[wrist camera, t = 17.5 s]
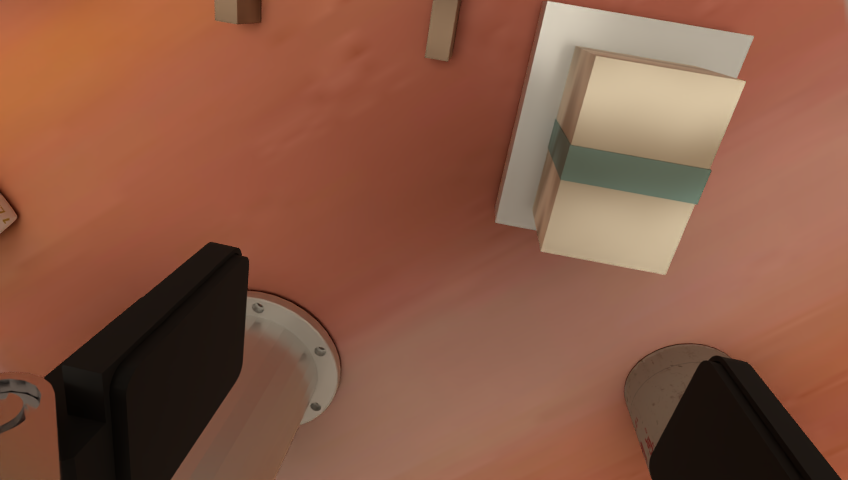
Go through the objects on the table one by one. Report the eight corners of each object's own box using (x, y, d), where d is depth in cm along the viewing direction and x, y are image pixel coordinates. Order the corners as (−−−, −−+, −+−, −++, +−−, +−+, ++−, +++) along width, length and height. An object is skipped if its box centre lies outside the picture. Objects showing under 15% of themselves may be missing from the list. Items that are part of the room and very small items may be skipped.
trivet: (651, 236, 32) (664, 254, 29) (494, 207, 32) (495, 222, 30) (731, 33, 26) (754, 36, 24) (542, 1, 27) (547, 1, 25)
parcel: (636, 228, 29) (667, 276, 24) (531, 209, 29) (539, 252, 24) (696, 66, 25) (748, 81, 20) (574, 45, 25) (595, 56, 20)
